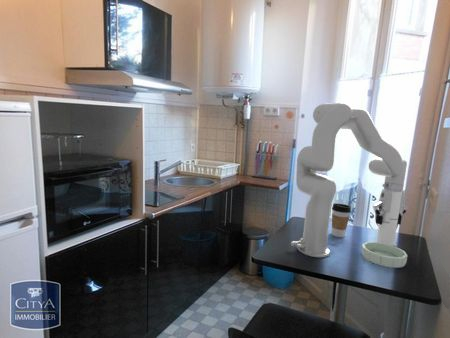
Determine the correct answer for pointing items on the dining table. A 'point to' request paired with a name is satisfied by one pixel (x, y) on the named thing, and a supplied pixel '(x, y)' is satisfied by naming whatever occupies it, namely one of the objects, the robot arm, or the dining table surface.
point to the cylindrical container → (390, 221)
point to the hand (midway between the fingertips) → (388, 223)
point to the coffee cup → (340, 219)
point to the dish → (384, 254)
